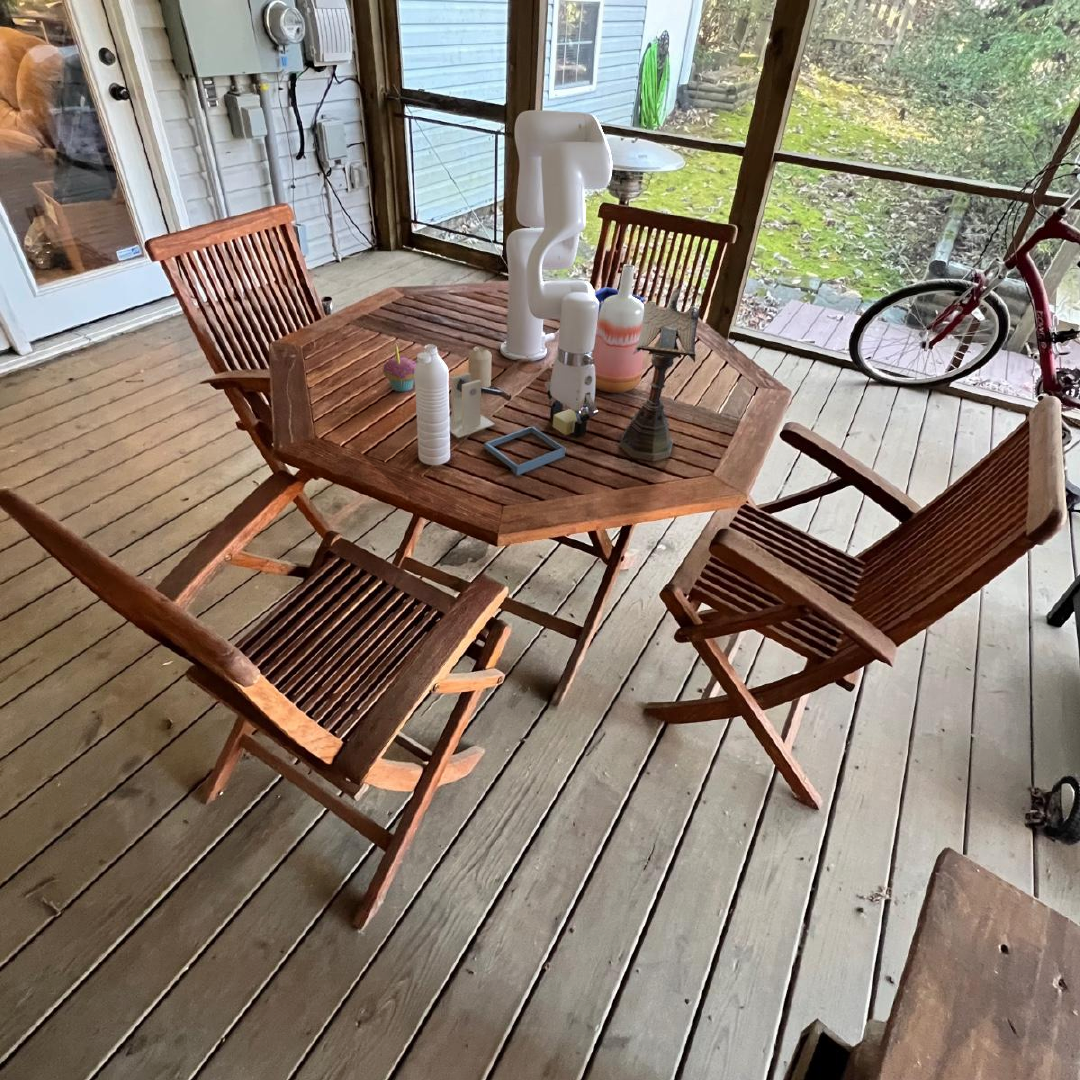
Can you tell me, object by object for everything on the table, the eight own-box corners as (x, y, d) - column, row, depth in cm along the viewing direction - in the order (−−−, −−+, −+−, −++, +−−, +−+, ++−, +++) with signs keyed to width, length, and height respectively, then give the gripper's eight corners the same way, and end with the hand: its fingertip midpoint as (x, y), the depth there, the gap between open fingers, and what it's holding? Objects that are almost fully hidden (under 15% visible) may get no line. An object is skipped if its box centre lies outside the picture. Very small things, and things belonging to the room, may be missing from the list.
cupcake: (412, 397, 163) (410, 350, 155) (378, 392, 164) (374, 344, 156) (424, 382, 169) (422, 335, 162) (391, 376, 170) (388, 330, 163)
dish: (531, 433, 154) (532, 425, 152) (564, 456, 147) (565, 447, 146) (484, 451, 147) (484, 442, 145) (516, 475, 140) (517, 467, 139)
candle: (494, 385, 170) (495, 347, 164) (484, 394, 167) (484, 355, 160) (475, 379, 172) (475, 341, 166) (464, 388, 168) (464, 350, 162)
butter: (568, 423, 158) (570, 408, 156) (581, 432, 156) (583, 416, 153) (552, 430, 156) (553, 414, 153) (565, 438, 153) (566, 423, 150)
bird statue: (675, 478, 144) (713, 315, 121) (613, 467, 145) (640, 304, 123) (681, 439, 156) (716, 285, 134) (624, 429, 158) (650, 275, 136)
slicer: (473, 413, 159) (474, 366, 151) (494, 428, 154) (496, 380, 147) (437, 425, 154) (435, 377, 146) (457, 441, 149) (457, 392, 142)
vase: (650, 386, 176) (672, 268, 157) (615, 404, 167) (634, 281, 148) (606, 366, 183) (622, 251, 164) (571, 382, 174) (583, 263, 155)
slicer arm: (496, 394, 158) (499, 384, 157) (509, 403, 155) (513, 393, 154) (452, 386, 148) (456, 375, 148) (466, 395, 146) (469, 385, 145)
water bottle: (424, 449, 146) (419, 336, 130) (453, 454, 145) (452, 341, 129) (411, 471, 139) (404, 355, 123) (442, 476, 138) (439, 360, 123)
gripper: (616, 366, 141) (605, 440, 152) (561, 336, 151) (554, 408, 162) (590, 375, 137) (581, 450, 148) (534, 343, 147) (530, 416, 158)
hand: (567, 427), depth 155 cm, fingers open, 7 cm apart
